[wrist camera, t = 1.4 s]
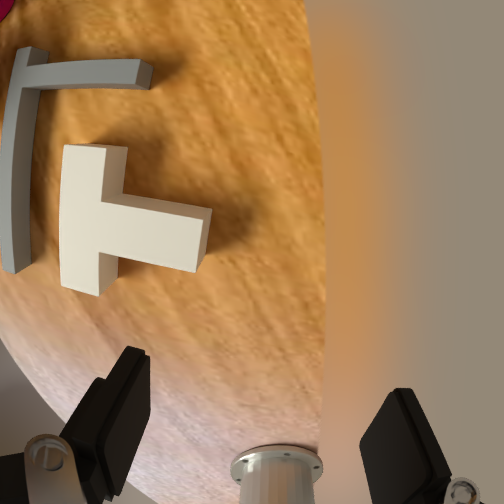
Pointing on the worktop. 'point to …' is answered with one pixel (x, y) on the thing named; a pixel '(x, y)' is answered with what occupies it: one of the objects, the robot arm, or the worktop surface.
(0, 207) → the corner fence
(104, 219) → the t block
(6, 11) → the pepper mill
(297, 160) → the worktop surface
